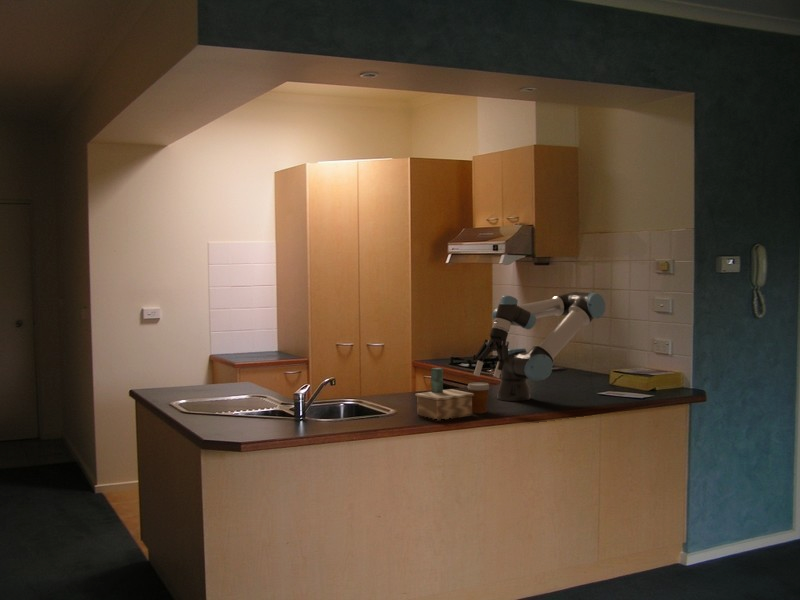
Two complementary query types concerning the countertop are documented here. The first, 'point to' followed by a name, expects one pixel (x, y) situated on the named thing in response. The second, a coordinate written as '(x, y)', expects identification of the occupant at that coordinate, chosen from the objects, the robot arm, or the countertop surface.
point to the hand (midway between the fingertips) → (486, 376)
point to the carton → (444, 407)
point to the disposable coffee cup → (479, 396)
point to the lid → (441, 388)
